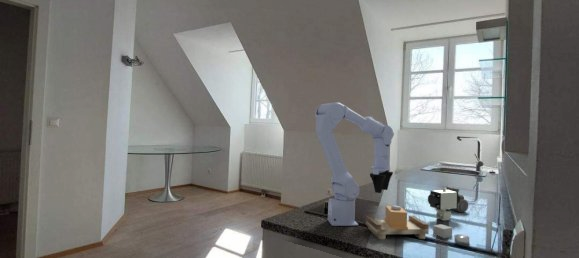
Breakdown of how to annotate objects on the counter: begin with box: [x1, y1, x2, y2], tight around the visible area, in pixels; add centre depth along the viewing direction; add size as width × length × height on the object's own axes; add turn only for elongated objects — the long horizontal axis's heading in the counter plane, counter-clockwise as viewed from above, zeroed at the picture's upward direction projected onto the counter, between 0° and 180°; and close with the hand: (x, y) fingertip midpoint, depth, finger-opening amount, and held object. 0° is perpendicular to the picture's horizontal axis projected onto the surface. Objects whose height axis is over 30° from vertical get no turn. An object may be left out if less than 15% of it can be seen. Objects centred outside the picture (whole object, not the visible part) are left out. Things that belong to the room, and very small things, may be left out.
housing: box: [384, 205, 408, 230], centre depth 103 cm, size 5×10×6 cm, turn 174°
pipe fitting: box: [446, 185, 469, 214], centre depth 136 cm, size 12×8×10 cm
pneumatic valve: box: [427, 187, 460, 222], centre depth 121 cm, size 6×12×12 cm, turn 108°
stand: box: [365, 215, 430, 240], centre depth 103 cm, size 17×10×4 cm, turn 95°
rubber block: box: [432, 223, 453, 239], centre depth 102 cm, size 4×4×3 cm
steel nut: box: [454, 233, 470, 246], centre depth 95 cm, size 4×4×2 cm
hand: (381, 191), depth 121 cm, fingers open, 7 cm apart
